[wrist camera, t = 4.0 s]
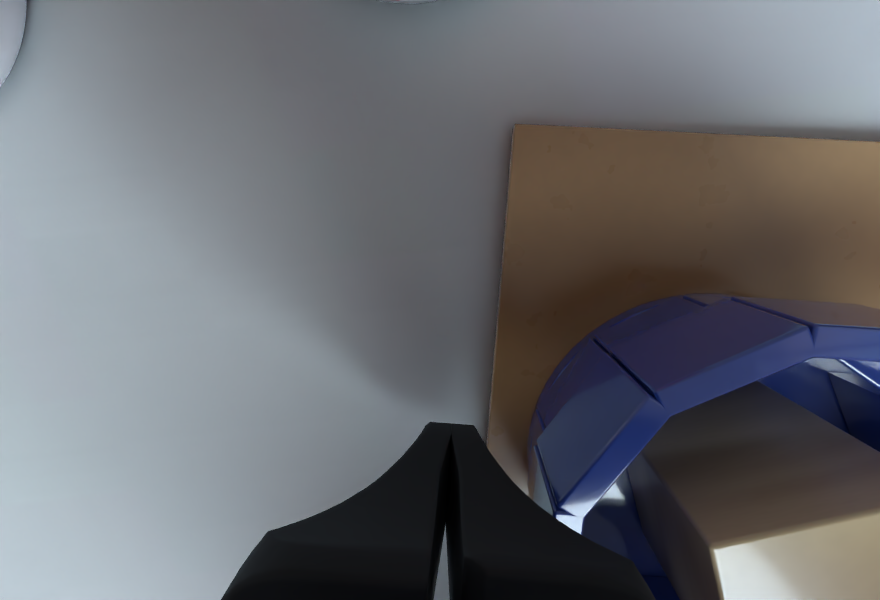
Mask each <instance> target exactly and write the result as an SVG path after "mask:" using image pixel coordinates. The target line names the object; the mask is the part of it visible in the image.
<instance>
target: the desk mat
mask: <svg viewBox="0 0 880 600" xmlns="http://www.w3.org/2000/svg"><path fill="white" fill-rule="evenodd" d="M716 293H718V294H726V295H734V296H741V297H754V298H771V299H787V300H803V301H819V302H835V303H851V304H860V305H864V306H868V307H872V308H876V309H880V142H878V141H858V140H837V139H817V138H796V137H776V136H756V135H735V134H715V133H694V132H674V131H653V130H633V129H612V128H592V127H572V126H551V125H531V124H515V125H514V127H513V133H512V145H511V157H510V169H509V180H508V192H507V204H506V216H505V228H504V240H503V252H502V264H501V276H500V288H499V299H498V311H497V323H496V335H495V347H494V359H493V371H492V383H491V395H490V407H489V419H488V430H487V442H486V446H487V448H488V449H489V451H490V452H491V454H492V455H493V457H494V458H495V459H496V461H497V462H498V464H499V465H500V466H501V468H502V469H503V470H504V471H505V473H506V474H507V475H508V476H509V477H510V478H511V480H512V481H513V482H514V483H515V484H516V485H517V486H518V487H519V488H520V489H521V490H522V491H523V492H524V493H525V494H526V495H527V496H528V493H529V492H528V486H527V481H528V472H529V467H528V458H527V452H528V435H529V429H530V424H531V419H532V416H533V413H534V409H535V406H536V403H537V400H538V398H539V396H540V394H541V392H542V390H543V388H544V386H545V384H546V382H547V381H548V379H549V378H550V376H551V375H552V373H553V372H554V370H555V368H556V367H557V365H558V364H559V363H560V362H561V361H562V360H563V358H564V357H565V356H566V355H567V354H568V353H569V352H570V350H571V349H572V348H573V347H574V346H576V345H577V344H578V343H579V342H580V341H581V340H582V339H583V338H585V337H586V336H587V335H588V334H589V333H591V332H592V331H593V330H595V329H596V328H598V327H599V326H601V325H602V324H604V323H605V322H606V321H608V320H610V319H612V318H614V317H616V316H618V315H620V314H621V313H623V312H625V311H627V310H630V309H632V308H635V307H637V306H640V305H643V304H645V303H648V302H651V301H655V300H659V299H663V298H667V297H671V296H679V295H687V294H716Z"/></svg>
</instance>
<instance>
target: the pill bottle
mask: <svg viewBox="0 0 880 600" xmlns="http://www.w3.org/2000/svg"><path fill="white" fill-rule="evenodd" d="M25 20H26V0H0V87H1V85H2V84H3V83H4V81H5V80H6V78H7V76H8V75H9V73H10V71H11V69H12V67H13V65H14V63H15V61H16V58H17V56H18V53H19V50H20V46H21V43H22V39H23V34H24V28H25Z"/></svg>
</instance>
